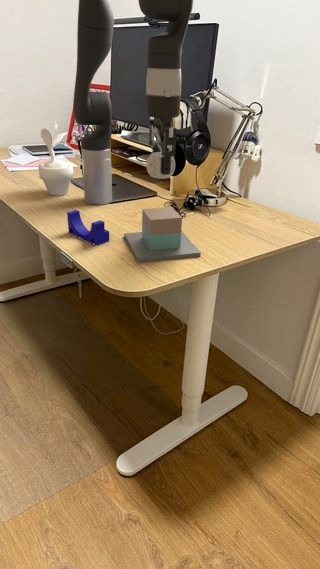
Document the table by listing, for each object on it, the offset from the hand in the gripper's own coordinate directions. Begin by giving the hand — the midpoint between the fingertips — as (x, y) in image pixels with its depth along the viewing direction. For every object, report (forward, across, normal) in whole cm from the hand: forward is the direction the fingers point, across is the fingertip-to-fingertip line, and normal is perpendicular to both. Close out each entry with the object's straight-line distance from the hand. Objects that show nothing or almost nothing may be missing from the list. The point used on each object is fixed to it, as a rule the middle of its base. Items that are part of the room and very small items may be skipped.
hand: (160, 169), depth 94 cm
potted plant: (+20, -51, -22) cm, 59 cm away
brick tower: (+20, 0, +1) cm, 20 cm away
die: (+2, 0, 0) cm, 2 cm away
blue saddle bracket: (+20, -10, -17) cm, 28 cm away
